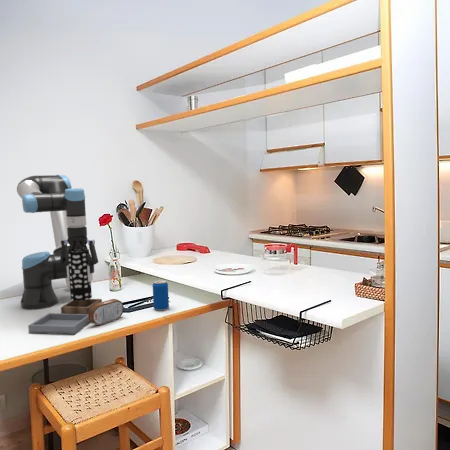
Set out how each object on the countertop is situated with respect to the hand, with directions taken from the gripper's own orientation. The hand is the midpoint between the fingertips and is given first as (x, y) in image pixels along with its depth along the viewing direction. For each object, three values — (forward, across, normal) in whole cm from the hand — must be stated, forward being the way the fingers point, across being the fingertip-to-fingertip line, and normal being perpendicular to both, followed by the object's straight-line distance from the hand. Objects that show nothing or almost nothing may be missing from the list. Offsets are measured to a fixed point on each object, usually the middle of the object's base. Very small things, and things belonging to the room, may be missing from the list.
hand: (80, 280), depth 176 cm
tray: (+14, -1, -15) cm, 21 cm away
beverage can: (+15, +31, +10) cm, 36 cm away
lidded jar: (+15, -23, +39) cm, 47 cm away
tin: (+15, +15, -8) cm, 22 cm away
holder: (+14, 0, 0) cm, 14 cm away
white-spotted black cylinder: (+8, 0, 0) cm, 8 cm away
